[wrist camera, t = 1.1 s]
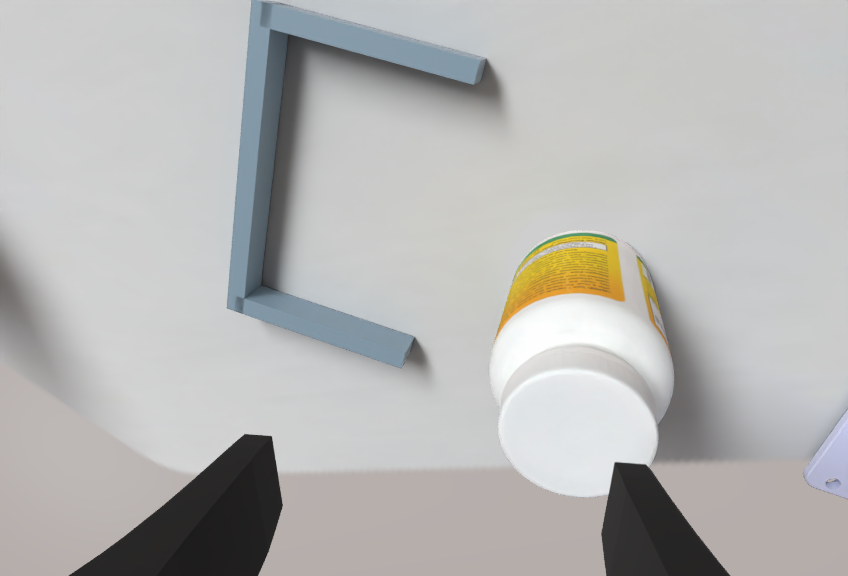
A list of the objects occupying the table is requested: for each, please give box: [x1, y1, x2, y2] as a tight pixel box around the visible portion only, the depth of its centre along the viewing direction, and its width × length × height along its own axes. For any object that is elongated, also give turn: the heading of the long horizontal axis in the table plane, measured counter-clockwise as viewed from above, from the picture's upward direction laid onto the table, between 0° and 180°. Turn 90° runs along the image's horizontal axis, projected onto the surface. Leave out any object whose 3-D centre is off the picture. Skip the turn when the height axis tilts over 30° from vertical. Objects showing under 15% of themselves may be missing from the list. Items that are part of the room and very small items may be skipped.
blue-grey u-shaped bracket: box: [227, 0, 487, 368], centre depth 23 cm, size 8×13×2 cm, turn 167°
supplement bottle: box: [489, 230, 674, 498], centre depth 19 cm, size 5×5×10 cm
